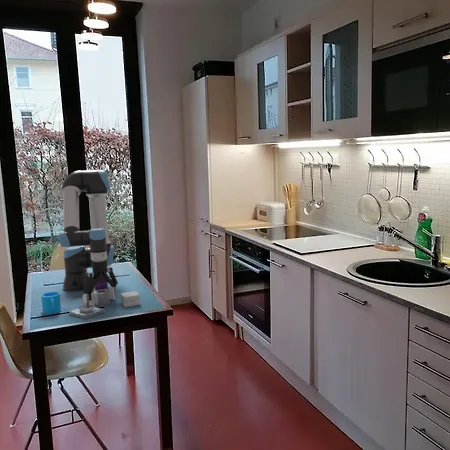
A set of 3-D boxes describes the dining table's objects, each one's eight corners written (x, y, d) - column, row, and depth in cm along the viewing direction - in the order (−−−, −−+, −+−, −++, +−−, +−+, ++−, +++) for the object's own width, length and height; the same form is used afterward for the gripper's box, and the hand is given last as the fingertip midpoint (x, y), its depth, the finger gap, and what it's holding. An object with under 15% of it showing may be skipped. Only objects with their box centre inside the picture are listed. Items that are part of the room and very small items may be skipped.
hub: (91, 304, 223) (90, 292, 222) (103, 300, 228) (102, 288, 228) (101, 306, 219) (100, 294, 218) (112, 302, 224) (112, 290, 223)
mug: (41, 310, 216) (40, 293, 214) (59, 307, 219) (58, 290, 218) (44, 317, 205) (43, 300, 204) (63, 314, 209) (62, 297, 208)
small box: (136, 300, 227) (136, 290, 226) (140, 305, 220) (139, 294, 219) (120, 303, 223) (120, 293, 223) (124, 307, 216) (123, 297, 216)
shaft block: (69, 314, 208) (67, 295, 207) (87, 308, 216) (85, 290, 215) (86, 319, 201) (84, 299, 200) (104, 312, 209) (102, 293, 208)
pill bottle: (111, 293, 239) (109, 267, 237) (100, 297, 232) (99, 270, 230) (100, 291, 243) (98, 265, 241) (89, 296, 236) (87, 269, 234)
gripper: (83, 266, 208) (86, 311, 211) (123, 256, 228) (126, 297, 231) (73, 264, 213) (76, 308, 216) (113, 254, 232) (116, 295, 235)
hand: (102, 302), depth 223 cm, fingers open, 12 cm apart
